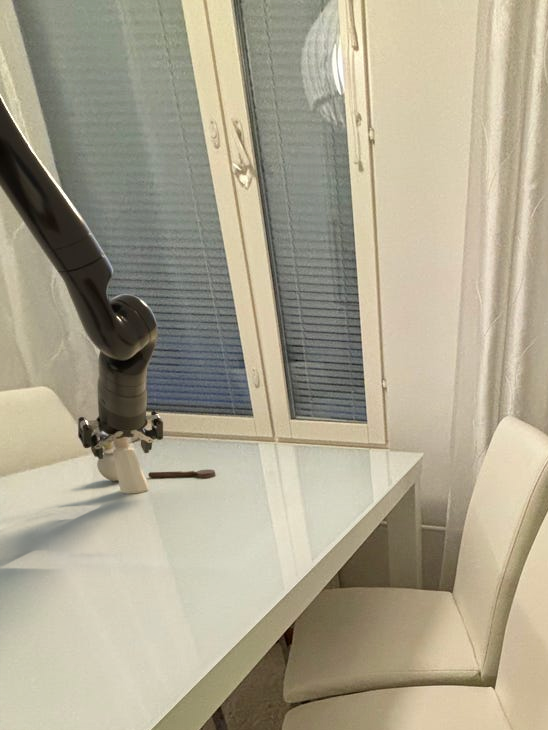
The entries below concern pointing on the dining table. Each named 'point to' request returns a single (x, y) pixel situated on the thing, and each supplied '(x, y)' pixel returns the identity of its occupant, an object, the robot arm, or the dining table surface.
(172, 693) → the dining table surface
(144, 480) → the salt shaker
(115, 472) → the ornament
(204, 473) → the walnut spoon
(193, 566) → the dining table surface
